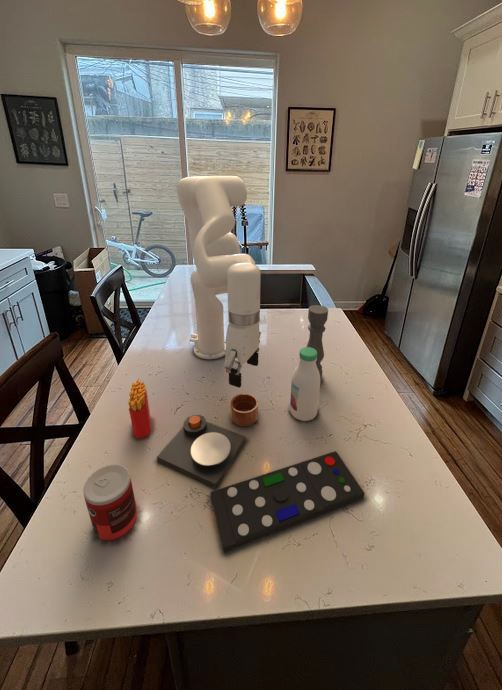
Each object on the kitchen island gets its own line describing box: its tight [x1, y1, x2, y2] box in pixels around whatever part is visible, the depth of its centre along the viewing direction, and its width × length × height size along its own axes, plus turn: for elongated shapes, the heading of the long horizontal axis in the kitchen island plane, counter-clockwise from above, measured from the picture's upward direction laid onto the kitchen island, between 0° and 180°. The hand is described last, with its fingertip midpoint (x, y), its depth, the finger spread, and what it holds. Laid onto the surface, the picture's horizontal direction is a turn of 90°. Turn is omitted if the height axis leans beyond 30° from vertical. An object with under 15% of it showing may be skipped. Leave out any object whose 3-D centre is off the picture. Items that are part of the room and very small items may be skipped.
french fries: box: [127, 378, 152, 439], centre depth 83 cm, size 9×4×13 cm, turn 18°
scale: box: [156, 414, 247, 489], centre depth 79 cm, size 16×14×3 cm
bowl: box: [229, 392, 259, 427], centre depth 89 cm, size 7×7×5 cm
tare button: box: [189, 415, 201, 428], centre depth 84 cm, size 3×3×2 cm
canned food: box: [82, 464, 138, 542], centre depth 62 cm, size 8×8×11 cm
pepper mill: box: [306, 304, 329, 384], centre depth 101 cm, size 6×6×25 cm
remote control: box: [210, 450, 365, 553], centre depth 69 cm, size 11×30×2 cm, turn 111°
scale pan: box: [191, 432, 231, 467], centre depth 76 cm, size 9×9×1 cm
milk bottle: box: [289, 347, 321, 422], centre depth 89 cm, size 8×8×20 cm
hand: (244, 374), depth 84 cm, fingers open, 9 cm apart
